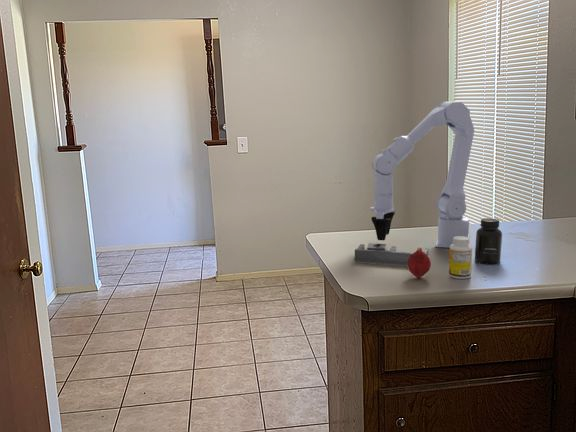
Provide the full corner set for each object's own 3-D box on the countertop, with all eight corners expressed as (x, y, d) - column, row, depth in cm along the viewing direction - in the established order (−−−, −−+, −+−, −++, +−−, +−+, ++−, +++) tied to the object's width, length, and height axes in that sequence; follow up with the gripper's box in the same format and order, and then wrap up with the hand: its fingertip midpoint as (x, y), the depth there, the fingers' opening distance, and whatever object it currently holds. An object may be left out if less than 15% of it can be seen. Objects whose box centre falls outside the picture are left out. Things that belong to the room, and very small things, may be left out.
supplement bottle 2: (487, 266, 153) (490, 223, 151) (469, 260, 159) (471, 219, 157) (505, 262, 156) (508, 220, 154) (487, 257, 162) (489, 216, 160)
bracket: (427, 258, 162) (428, 246, 161) (425, 267, 153) (425, 255, 152) (360, 253, 168) (360, 242, 167) (354, 262, 159) (354, 250, 158)
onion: (430, 282, 141) (431, 251, 139) (407, 280, 142) (407, 250, 141) (429, 275, 147) (430, 245, 145) (407, 274, 148) (407, 244, 146)
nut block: (386, 257, 165) (386, 243, 164) (384, 261, 160) (384, 247, 159) (368, 256, 166) (368, 242, 165) (367, 261, 161) (367, 247, 160)
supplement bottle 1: (454, 271, 149) (455, 234, 147) (474, 275, 145) (476, 237, 143) (444, 277, 145) (446, 238, 143) (465, 281, 141) (467, 241, 139)
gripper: (374, 189, 179) (374, 231, 182) (366, 197, 166) (366, 242, 169) (396, 190, 177) (396, 232, 180) (390, 198, 164) (389, 243, 166)
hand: (383, 237), depth 174 cm, fingers open, 7 cm apart
